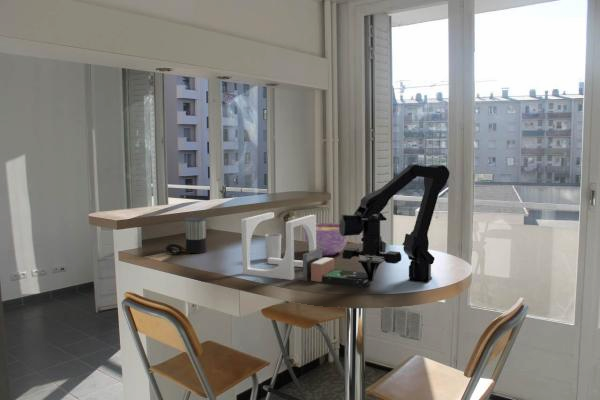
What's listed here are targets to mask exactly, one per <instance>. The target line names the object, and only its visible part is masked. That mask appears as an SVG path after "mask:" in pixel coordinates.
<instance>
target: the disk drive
mask: <svg viewBox="0 0 600 400" xmlns="http://www.w3.org/2000/svg"><path fill="white" fill-rule="evenodd" d="M374 280H375V278H374V279H373V281H374ZM373 281H370V280H369V278H368V276H367V274H366V272H363V271H353V270H346V269H345V270H343V269H338V268H337V269H336V268H335V269H334V270H332V271H330V272H329V273H328V274H326V275H323V277H322V282H321V283H327V284H335V285H343V286H350V287H355V286H356V287H355V288H357V287H358V288H364V287H365V286H367V285H369V284H370V283H372V282H373Z"/></svg>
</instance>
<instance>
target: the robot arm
mask: <svg viewBox="0 0 600 400" xmlns="http://www.w3.org/2000/svg"><path fill="white" fill-rule="evenodd" d="M417 177H420V178H423V185H424V186H423V187H424V191H423V195H422V198H421V202H420V205H419V209H418V213H417V216H416V220H415V223H414V226H413V230H412V231H411V232H410V233H405V235H404V240H403V243H402V246H403V248H402V249H403V251H404V254H406V255H407V258H408V260H409V261H410V263H409V264H410V265H409V266H408V281H411V282H420V283H430V281H431V280H432V279H433V276H432V265H433V264H434V261H435V257H434V255H432V254H431V252H430V251H429V243H430V242H429V236H428V234H429V230H430V227H431V223H432V219H433V216H434V213H435V209H436V205H437V202H438V199H439V198H438V197H439V194H440V192H441V191H442V190H443V189H444V187H445V186H446V185H447V182H448V181H449V178H450V171H449V168H448V167H447V166H445V165H439V164H430V165H428V166H427V165H420V164H415V163H410V164H408V165H407V166H406V167H405V168H404V169H403V170H402V171H400V172H399V173H398V174H397V175H396V176H394V177H393V178H392V179H391V180H390V181H388V182H386V184H385V185H383V186H381V188H379V189H376V190H374V191H372V192H370V193H368V194H366V195H365V196H363V197H362V198H361V199H360V205H359V206H358V208H357V209H356V210H355V212H354V213H353V214H341V216H340V217H341V218H340V221H339V223H338V224H339V231H340V234H341V236H348V237H350V236H359V235H360V234H361V233H362V237H361V239H360V241H361V242H362V250H360V249H359V248H357V247H347V248H345V249H343V250H342V253H341V255H342V256H341V258H342V259H345V260H351V259H352V258H354V257H357V258H359V259H358V260H357V261H358V263H360V264H361V266H362V268H363V270H364V271H365V273H366V274H367V276H368V278H369V280H370V281H372V282H373V281H374V280H375V275H376V273H377V270H378V268H379V266H380V265H381V264H383V262H385V263H387V264H398V263H399V262H401V261H402V254H401V252H400V251H393V250H388V251H387V252H386V249H387V248H386V247H387V243H386V242H384V241H383V240H382V235H381V221H387V217H385V216H384V214H383V213H382V211H383V210H384V209H385V208H386V206H387V205H388V204H389V201H390V200H391V199H392V198H393V197H394V196H396V194H398V193H399V192H400V191H401V190H402V189H404V188H405V187H406V186H407V185H408V184H410V183H411V182H412V181H414V179H416V178H417ZM373 279H374V280H373Z"/></svg>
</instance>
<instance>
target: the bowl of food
mask: <svg viewBox="0 0 600 400" xmlns="http://www.w3.org/2000/svg"><path fill="white" fill-rule="evenodd" d="M339 224H340V223H334V222H320V223H317V222H316V249H317V248H322V256H334V255H336V254H337V253H339V252H341V251H344V248H345V247H346V246H347V243H348V242H347V241H348V238H349V236H341V234H340V231H339ZM302 228H303V233H304V237H305V238H304V239H305V241H306V245H307V247H308V248H309V239H308V235H307V232H306V230H305V228H304V227H303V226H302Z"/></svg>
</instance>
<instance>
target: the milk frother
mask: <svg viewBox="0 0 600 400" xmlns="http://www.w3.org/2000/svg"><path fill="white" fill-rule="evenodd" d="M206 219H207V218H206V217H201V216H200V217H199V216H198V217H197V216H193V217H186V218H184V221H185V222H184V223H185V226H184V227H185V248H184V247H183V246H181V245H179V244H176V243H169V244H168V245H166V247H165V251H166V253H169V254H170V253H172V254H171V255H173V254H174V255H176V254H181V253H182V252H183V250H185V253H186V254H190V253H199V254H203V252H204V253H206V252H207V242H206V241H207V238H206V236H207V231H206V228H207V227H206ZM176 248H177V249H178V250H176Z"/></svg>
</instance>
